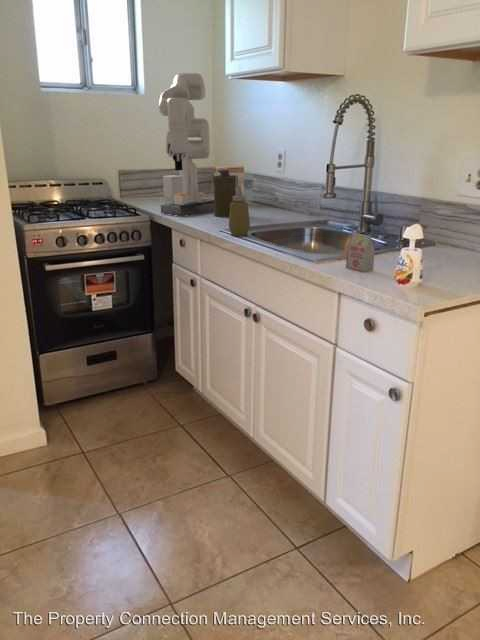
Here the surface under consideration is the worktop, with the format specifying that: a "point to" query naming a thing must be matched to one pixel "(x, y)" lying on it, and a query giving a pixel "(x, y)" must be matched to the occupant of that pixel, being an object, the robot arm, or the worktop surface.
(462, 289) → the worktop surface
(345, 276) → the worktop surface
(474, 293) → the worktop surface
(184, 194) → the block
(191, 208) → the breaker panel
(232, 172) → the coffeecake box
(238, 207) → the squeeze bottle
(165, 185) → the skincare box
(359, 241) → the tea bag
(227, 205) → the canister
